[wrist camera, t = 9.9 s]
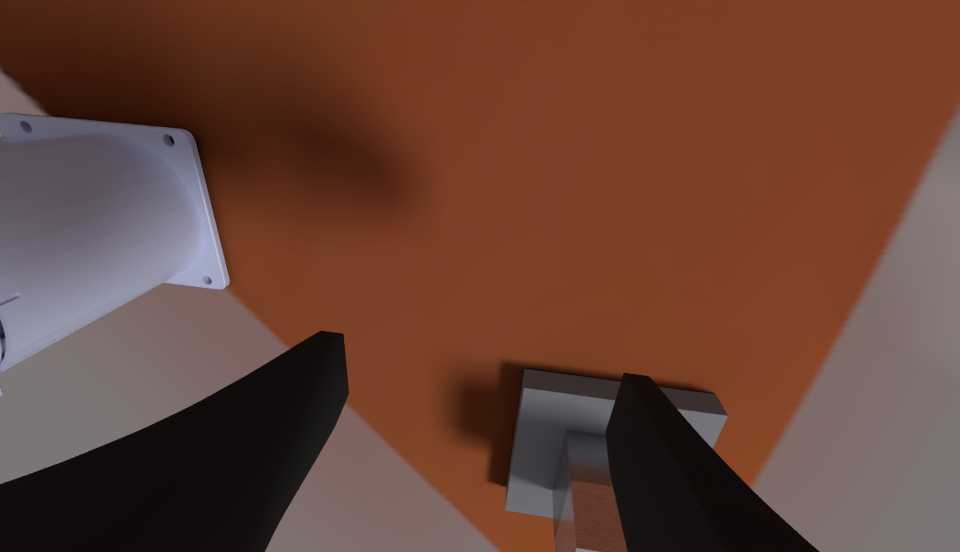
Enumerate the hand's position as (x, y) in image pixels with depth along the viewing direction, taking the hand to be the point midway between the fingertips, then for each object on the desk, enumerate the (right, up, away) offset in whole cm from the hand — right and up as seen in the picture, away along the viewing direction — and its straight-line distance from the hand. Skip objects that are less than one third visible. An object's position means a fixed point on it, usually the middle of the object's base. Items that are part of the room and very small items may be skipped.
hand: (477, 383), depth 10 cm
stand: (+7, -7, +13) cm, 17 cm away
